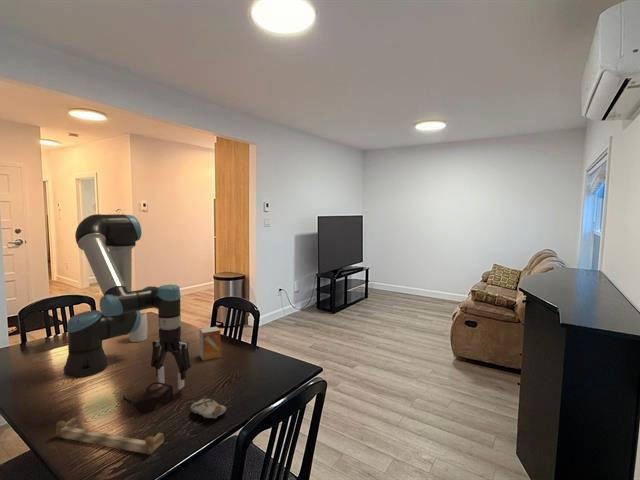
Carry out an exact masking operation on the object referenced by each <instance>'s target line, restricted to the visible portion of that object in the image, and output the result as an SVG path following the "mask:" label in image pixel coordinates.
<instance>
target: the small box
mask: <svg viewBox="0 0 640 480" xmlns="http://www.w3.org/2000/svg"><path fill="white" fill-rule="evenodd" d="M199 358H201V360H202V362H203V361H208V360H212V359H217V358H221V329H220V328H219V327H218V326H212V327H211V326H210V327H205V328H199Z"/></svg>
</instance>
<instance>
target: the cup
mask: <svg viewBox="0 0 640 480" xmlns="http://www.w3.org/2000/svg"><path fill="white" fill-rule="evenodd" d="M140 314H141V321H140V325H139V327H138V329H137V330H136V331H135V332H133V333H129V334H128V335H129V342H131V343H132V342H133V343H138V342H144V341H146V340H147V338H148V316H147V313H146V312H140Z"/></svg>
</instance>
